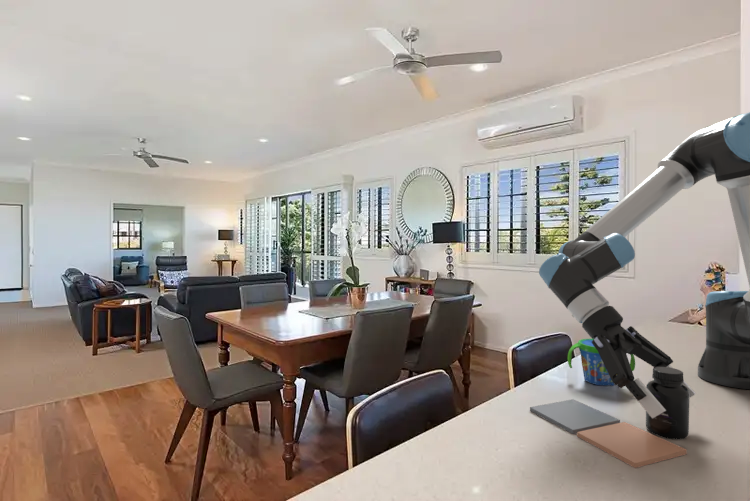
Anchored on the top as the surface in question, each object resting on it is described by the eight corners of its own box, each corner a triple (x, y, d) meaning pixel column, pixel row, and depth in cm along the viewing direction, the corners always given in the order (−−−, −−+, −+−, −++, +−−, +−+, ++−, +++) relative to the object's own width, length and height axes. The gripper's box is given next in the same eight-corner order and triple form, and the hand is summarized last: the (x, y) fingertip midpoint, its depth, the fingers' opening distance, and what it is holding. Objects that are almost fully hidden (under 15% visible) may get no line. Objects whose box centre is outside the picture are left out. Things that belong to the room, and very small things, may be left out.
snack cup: (629, 378, 113) (629, 339, 112) (641, 391, 103) (641, 349, 102) (565, 373, 117) (564, 336, 117) (570, 386, 107) (570, 346, 107)
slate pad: (573, 402, 97) (573, 399, 97) (619, 423, 85) (619, 419, 85) (530, 410, 93) (529, 407, 93) (573, 434, 81) (572, 429, 81)
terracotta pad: (624, 425, 84) (624, 421, 84) (686, 454, 73) (686, 449, 73) (577, 436, 80) (577, 432, 80) (635, 468, 69) (635, 463, 69)
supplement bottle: (649, 437, 80) (649, 373, 79) (642, 422, 86) (642, 363, 86) (694, 443, 77) (694, 377, 77) (683, 427, 83) (683, 366, 83)
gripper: (612, 318, 101) (685, 400, 89) (550, 333, 87) (628, 432, 75) (636, 298, 97) (717, 381, 85) (575, 310, 83) (662, 412, 71)
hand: (675, 405), depth 80 cm, fingers open, 13 cm apart
